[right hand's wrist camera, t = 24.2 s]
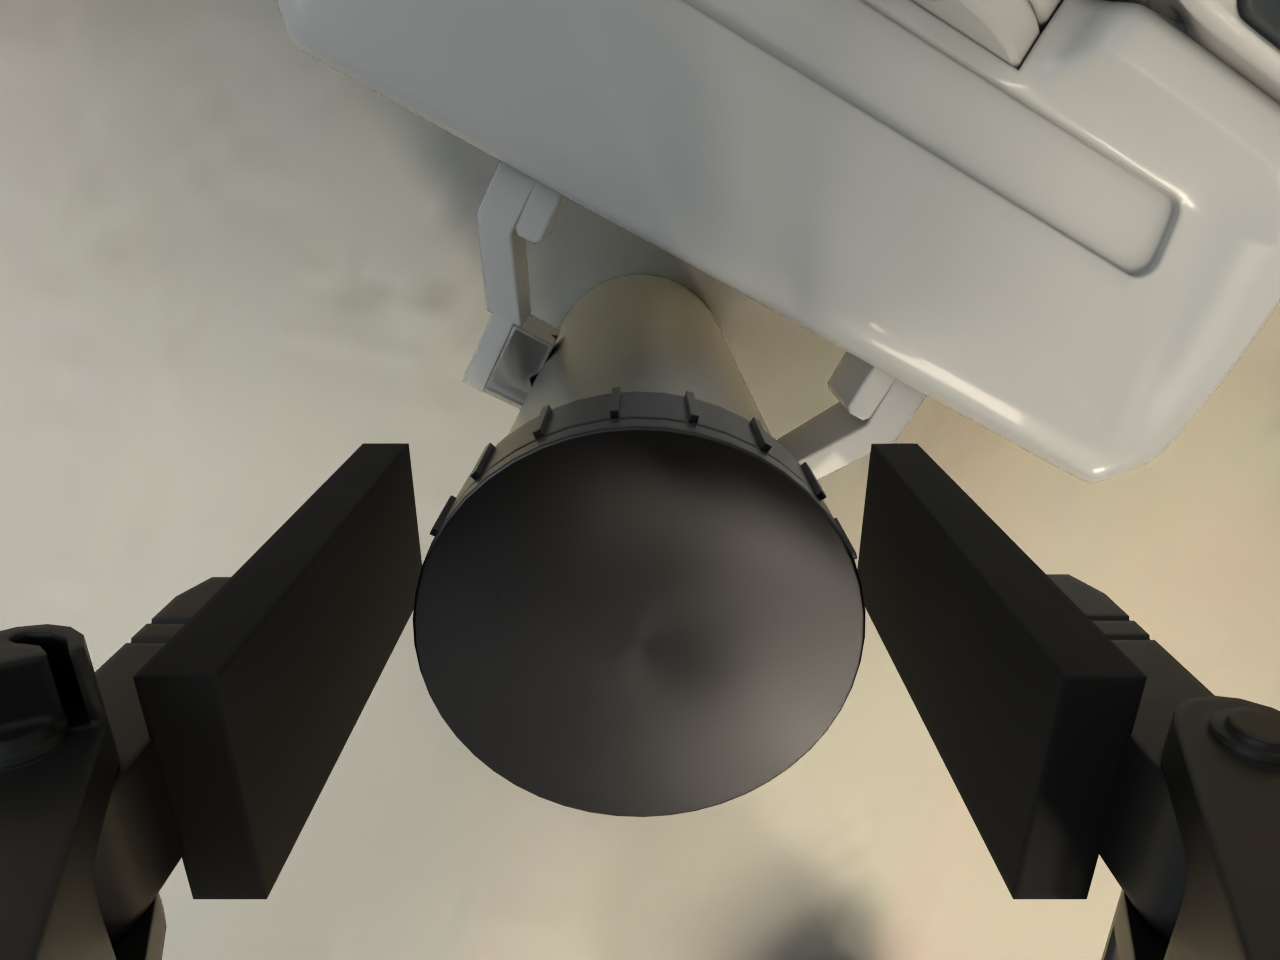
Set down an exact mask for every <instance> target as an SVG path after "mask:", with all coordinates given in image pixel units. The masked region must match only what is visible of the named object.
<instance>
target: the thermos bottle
mask: <svg viewBox="0 0 1280 960" xmlns="http://www.w3.org/2000/svg"><path fill="white" fill-rule="evenodd" d="M559 330H561V331H560V333H559V336H558V338H557V340H556V342H555V344H554V346H553V348H552V350H551V352H550V354H549V356H548V359H547V360H546V362H545V364H544V366H543V368H542V369H541V370H540V372H539V373H538V375H537V377H536V379H535V381H534V383H533V385H532V387H531V389H530V391H529V393H528V395H527V397H526V399H525V402H524V404H523V406H522V408H521V410H520V412H519V414H518V416H517V418H516V420H515V422H514V424H513V426H512V428H511V430H510V433H509V434H511V433H512V432H513V431H515V430H516V429H518V428H519V427H521V426H522V425H524V424H525V423H526V422H528V421H530V420H532V419H534V418H536V417H538V416H539V415H540V412H541V409H542V407H545V406H547V405H550V407H551V409H554V408H557V407H559V406H562V405H565V404H568V403H571V402H574V401H576V400H580V399H584V398H589V397H594V396H598V395H603V394H609V393H612V388H613V387H620V389H621V392H633V391H638V392H660V393H668V394H674V395H680V396H685V393H686V391H689V392H693V393H694V396H695V399H698V400H701V401H704V402H708V403H711V404H714V405H717V406H720V407H722V408H724V409H726V410H728V411H731V412H733V413H735V414H737V415H739V416H741V417H744V418H745V419H747V420H748V421H751V420H752V418H753V417H755V418H756V419H758V420H760V422H761V424H762V427H763V429H764V431H766V432H767V433H768V434H769V435H770V433H769V431H768V428H767V426H766V424H765V422H764V420H763V418H762V416H761V414H760V412H759V410H758V408H757V406H756V403H755V401H754V399H753V397H752V395H751V393H750V391H749V389H748V387H747V385H746V383H745V381H744V378H743V376H742V374H741V372H740V370H739V368H738V366H737V364H736V362H735V360H734V358H733V356H732V353H731V351H730V349H729V347H728V345H727V343H726V341H725V339H724V337H723V335H722V333H721V331H720V328H719V326H718V324H717V322H716V320H715V319H714V317H713V315H712V313H711V312H710V311H709V309H708V308H707V307H706V305H705V304H704V303H703V302H702V301H701V300H700V299H699V298H698V297H697V296H696V295H695V294H693V293H692V292H691V291H690V290H688V289H687V288H685V287H683V286H682V285H680V284H678V283H676V282H674V281H671V280H669V279H666V278H662V277H658V276H653V275H644V274H642V275H627V276H621V277H617V278H614V279H610V280H608V281H606V282H604V283H601V284H599V285H597V286H596V287H594V288H593V289H591V290H589V291H588V292H587V293H586V294H585V295H583V296H582V297H581V298H580V299H579V300H578V301H577V302H576V303H575V304H574V306H573V307H572V308H571V310H570V311H569V312H568V314H567V315H566V317H565V319H564V321H563V323H562V325H561V327H560V329H559Z"/></svg>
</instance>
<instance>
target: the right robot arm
mask: <svg viewBox="0 0 1280 960" xmlns="http://www.w3.org/2000/svg"><path fill="white" fill-rule="evenodd" d="M421 567H422V561H421V552H420V543H419V534H418V524H417V515H416V506H415V497H414V488H413V479H412V470H411V461H410V452H409V444H362V445H361V446H360V447H359V448H358V449H357V450H356V451H355V452H354V453H353V454H352V455H351V456H350V457H349V458H348V459H347V461H346V462H345V463H344V464H343V465H342V466H341V467H340V468H339V469H338V470H337V471H336V472H335V473H334V474H333V475H332V476H331V477H330V478H329V479H328V480H327V481H326V482H325V483H324V484H323V485H322V486H321V487H320V488H319V489H318V490H317V491H316V492H315V493H314V494H313V495H312V496H311V497H310V498H309V499H308V500H307V501H306V502H305V503H304V504H303V505H302V506H301V507H300V508H299V509H298V510H297V511H296V512H295V513H294V514H293V515H292V516H291V517H290V518H289V519H288V520H287V521H286V522H285V523H284V524H283V525H282V526H281V527H280V528H279V529H278V530H277V531H276V532H275V533H274V534H273V535H272V536H271V538H270V539H269V540H268V541H267V542H266V543H265V544H264V545H263V546H262V547H261V548H260V549H259V550H258V551H257V552H256V553H255V554H254V555H253V556H252V557H251V558H250V559H249V560H248V561H247V562H246V563H245V564H244V565H243V566H242V567H241V568H240V569H239V570H238V571H237V572H236V573H235V574H234V575H233V576H232V577H212V578H210V579H208V580H206V581H204V582H202V583H201V584H199V585H197V586H195V587H193V588H191V589H189V590H187V591H186V592H184V593H182V594H180V595H178V596H176V597H175V598H174V599H173V600H172V601H171V602H170V603H169V604H168V605H166V606H165V607H164V608H163V609H162V610H161V611H160V612H159V613H158V614H157V615H156V616H155V617H154V618H153V619H152V623H151V624H146V625H145V626H144V627H143V628H142V629H141V630H140V631H139V632H138V633H136V634H135V635H134V636H133V637H132V638H131V640H132V641H131V643H126V644H125V645H124V646H123V647H122V648H120V649H119V650H118V651H117V652H116V653H115V654H114V655H113V656H112V657H111V658H110V659H109V660H108V661H107V662H105V663H104V664H103V665H102V666H101V667H100V668H99V669H98V670H97V671H96V672H94V669H93V666H92V662H91V659H90V655H89V652H88V648H87V645H86V642H85V638H84V635H83V634H81V633H79V632H78V631H76V630H75V629H73V628H71V627H67V626H58V625H50V624H44V625H34V626H23V627H15V628H11V629H7V630H3V631H0V960H162V954H163V947H164V940H165V933H166V921H165V914H164V908H163V905H162V901H161V898H160V894H159V891H160V889H161V888H162V886H163V885H164V883H165V882H166V880H167V878H168V877H169V875H170V874H171V872H172V871H173V869H174V868H175V866H176V865H177V863H178V862H179V860H180V859H181V857H182V859H183V863H184V866H185V870H186V874H187V877H188V881H189V885H190V888H191V892H192V896H193V899H267V897H268V895H269V894H270V892H271V890H272V888H273V886H274V884H275V882H276V880H277V878H278V876H279V874H280V872H281V870H282V868H283V866H284V864H285V862H286V860H287V858H288V856H289V854H290V852H291V850H292V848H293V846H294V844H295V842H296V840H297V838H298V836H299V834H300V832H301V830H302V828H303V826H304V825H305V823H306V821H307V819H308V817H309V815H310V813H311V811H312V809H313V807H314V805H315V803H316V801H317V799H318V797H319V795H320V793H321V791H322V789H323V787H324V785H325V783H326V781H327V779H328V777H329V775H330V773H331V771H332V769H333V767H334V765H335V763H336V761H337V759H338V757H339V756H340V754H341V752H342V750H343V748H344V746H345V744H346V742H347V740H348V738H349V736H350V734H351V732H352V730H353V728H354V726H355V724H356V722H357V720H358V718H359V716H360V714H361V712H362V710H363V708H364V706H365V704H366V702H367V700H368V698H369V696H370V694H371V692H372V690H373V688H374V687H375V685H376V683H377V681H378V679H379V677H380V675H381V673H382V671H383V669H384V667H385V665H386V663H387V661H388V659H389V657H390V655H391V653H392V651H393V649H394V647H395V645H396V643H397V641H398V639H399V637H400V635H401V633H402V631H403V629H404V627H405V625H406V623H407V621H408V620H409V618H410V616H411V614H412V612H413V610H414V600H415V592H416V588H417V583H418V579H419V575H420V571H421ZM857 571H858V574H859V578H860V581H861V584H862V591H863V598H864V606H865V608H866V610H867V612H868V614H869V616H870V618H871V620H872V621H873V623H874V625H875V627H876V629H877V631H878V633H879V635H880V637H881V639H882V641H883V643H884V645H885V647H886V649H887V651H888V653H889V655H890V657H891V659H892V661H893V663H894V665H895V667H896V669H897V671H898V673H899V675H900V677H901V679H902V681H903V683H904V685H905V687H906V688H907V690H908V692H909V694H910V696H911V698H912V700H913V702H914V704H915V706H916V708H917V710H918V712H919V714H920V716H921V718H922V720H923V722H924V724H925V726H926V728H927V730H928V732H929V734H930V736H931V738H932V740H933V742H934V744H935V746H936V748H937V750H938V752H939V754H940V756H941V757H942V759H943V761H944V763H945V765H946V767H947V769H948V771H949V773H950V775H951V777H952V779H953V781H954V783H955V785H956V787H957V789H958V791H959V793H960V795H961V797H962V799H963V801H964V803H965V805H966V807H967V809H968V811H969V813H970V815H971V817H972V819H973V821H974V823H975V825H976V826H977V828H978V830H979V832H980V834H981V836H982V838H983V840H984V842H985V844H986V846H987V848H988V850H989V852H990V854H991V856H992V858H993V860H994V862H995V864H996V866H997V868H998V870H999V872H1000V874H1001V876H1002V878H1003V880H1004V882H1005V884H1006V886H1007V888H1008V890H1009V892H1010V894H1011V895H1012V897H1013V899H1087V896H1088V892H1089V889H1090V885H1091V881H1092V878H1093V874H1094V870H1095V867H1096V863H1097V859H1098V856H1099V854H1100V856H1101V857H1102V859H1103V860H1104V862H1105V863H1106V865H1107V866H1108V868H1109V869H1110V871H1111V873H1112V874H1113V876H1114V877H1115V879H1116V880H1117V882H1118V883H1119V885H1120V886H1121V888H1122V891H1121V894H1120V898H1119V901H1118V905H1117V908H1116V912H1115V915H1114V918H1113V922H1112V925H1111V929H1110V932H1109V935H1108V939H1107V942H1106V946H1105V949H1104V953H1103V956H1102V959H1101V960H1280V711H1278V710H1276V709H1273V708H1271V707H1267V706H1264V705H1260V704H1257V703H1253V702H1250V701H1246V700H1243V699H1238V698H1229V697H1220V696H1214V695H1213V694H1212V693H1211V692H1210V691H1209V690H1208V689H1207V688H1206V687H1205V686H1204V685H1203V684H1202V683H1200V682H1199V681H1198V680H1197V679H1196V678H1195V677H1194V676H1193V675H1192V674H1191V673H1190V672H1189V671H1188V670H1186V669H1185V668H1184V667H1183V666H1182V665H1181V664H1180V663H1179V662H1178V661H1177V660H1176V659H1175V658H1173V657H1172V656H1171V655H1170V654H1169V653H1168V652H1167V651H1166V650H1165V649H1164V648H1163V647H1162V646H1161V645H1159V644H1158V643H1157V642H1156V641H1155V640H1150V638H1149V634H1148V633H1147V632H1145V631H1144V630H1143V629H1142V628H1141V627H1140V626H1139V625H1138V624H1137V623H1136V622H1135V621H1129V616H1128V615H1127V614H1126V613H1125V612H1124V611H1123V610H1122V609H1121V608H1120V607H1118V606H1117V605H1116V604H1115V603H1114V602H1113V601H1112V600H1111V599H1110V598H1109V597H1108V596H1107V595H1105V594H1104V593H1102V592H1100V591H1099V590H1097V589H1095V588H1093V587H1091V586H1089V585H1087V584H1085V583H1083V582H1082V581H1080V580H1078V579H1076V578H1074V577H1072V576H1070V575H1046V574H1045V573H1044V572H1043V571H1042V570H1041V569H1040V568H1039V567H1038V566H1037V565H1036V564H1035V563H1034V562H1033V561H1032V560H1031V559H1030V558H1029V557H1028V556H1027V555H1026V554H1025V553H1024V552H1023V551H1022V550H1021V549H1020V548H1019V547H1018V546H1017V545H1016V544H1015V543H1014V542H1013V541H1012V540H1011V539H1010V538H1009V536H1008V535H1007V534H1006V533H1005V532H1004V531H1003V530H1002V529H1001V528H1000V527H999V526H998V525H997V524H996V523H995V522H994V521H993V520H992V519H991V518H990V517H989V516H988V515H987V514H986V513H985V512H984V511H983V510H982V509H981V508H980V507H979V506H978V505H977V504H976V503H975V502H974V501H973V500H972V499H971V498H970V497H969V496H968V495H967V494H966V493H965V492H964V491H963V490H962V489H961V488H960V487H959V486H958V485H957V484H956V483H955V482H954V481H953V480H952V479H951V478H950V477H949V476H948V475H947V474H946V473H945V472H944V471H943V470H942V469H941V468H940V467H939V466H938V465H937V464H936V463H935V462H934V461H933V459H932V458H931V457H930V456H929V455H928V454H927V453H926V452H925V451H924V450H923V449H922V448H921V447H920V446H919V445H918V444H871V452H870V461H869V470H868V479H867V488H866V497H865V506H864V515H863V524H862V534H861V543H860V552H859V561H858V570H857Z"/></svg>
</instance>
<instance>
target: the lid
mask: <svg viewBox="0 0 1280 960" xmlns="http://www.w3.org/2000/svg"><path fill="white" fill-rule="evenodd" d="M824 498H826V495H825V493H824V491H823V489H822V488H821V486H820V484H819V482H818V480H817V479H816V477H815V475H814V473H813V472H812V470H811V468H810V466H809V465H808V464H807V462H804V463H803V464H801V465H800V464H799V462H798V461H797V460H796V459H795V458H794V457H793V456H792V455H791V454H790V452H789V451H788V450H787V449H786V448H785V447H784V446H782V445H781V444H780V443H779V442H778V441H776V440H775V439H774V438H773V437H772V436H771V435H769V434H768V433H767V432H766V431H764V429H763V427H762V424H761V422H760V420H758V419H756V418H755V417H753V418H752V420H751V421H748V420H747V419H745V418H744V417H741V416H739V415H737V414H735V413H733V412H731V411H728V410H726V409H724V408H722V407H720V406H717V405H714V404H711V403H708V402H704V401H701V400H698V399H695V396H694V393H693V392H689V391H686V393H685V396H680V395H674V394H668V393H660V392H638V391H633V392H621V389H620V387H613V388H612V393H609V394H603V395H598V396H594V397H589V398H584V399H580V400H576V401H574V402H571V403H568V404H565V405H562V406H559V407H557V408H554V409H551V407H550V405H547V406H545V407H542V409H541V412H540V415H539V416H538V417H536V418H534V419H532V420H530V421H528V422H526V423H525V424H524V425H522V426H521V427H519V428H518V429H516V430H515V431H513V432H512V433H511V434H509V435H508V436H506V437H505V438H504V439H503V440H502V441H501V442H500V443H499V444H497V445H496V446H495V447H494V446H493V445H492V444H491V443H489V444H488V445H487V446H486V447H485V449H484V451H483V453H482V455H481V457H480V458H479V460H478V462H477V464H476V466H475V468H474V469H473V471H472V473H471V474H470V476H469V477H468V479H467V481H466V482H465V484H464V486H463V487H462V489H461V491H460V492H459V494H458V496H457V497H453V496H450V498H449V500H448V502H447V503H446V505H445V507H444V509H443V510H442V512H441V514H440V516H439V517H438V519H437V521H436V523H435V524H434V526H433V528H432V530H431V532H430V535H433V536H435V538H434V539H433V541H432V543H431V546H430V548H429V550H428V553H427V555H426V558H425V560H424V563H423V565H422V567H421V571H420V575H419V579H418V583H417V588H416V592H415V600H414V612H413V629H414V644H415V649H416V653H417V658H418V663H419V667H420V671H421V674H422V676H423V679H424V682H425V684H426V687H427V689H428V692H429V695H430V696H431V698H432V700H433V702H434V704H435V706H436V707H437V709H438V711H439V713H440V715H441V716H442V718H443V719H444V720H445V722H446V723H447V725H448V726H449V727H450V729H451V730H452V731H453V733H454V734H455V735H456V737H457V738H458V739H459V740H460V741H461V742H462V743H463V744H464V745H465V746H466V747H467V748H468V749H469V750H470V751H471V752H472V753H473V754H474V755H475V756H476V757H477V758H478V759H480V760H481V761H482V762H483V763H484V764H486V765H487V766H488V767H489V768H491V769H492V770H493V771H494V772H496V773H497V774H499V775H501V776H502V777H504V778H505V779H507V780H508V781H510V782H511V783H513V784H515V785H516V786H518V787H520V788H522V789H524V790H526V791H528V792H531V793H533V794H535V795H537V796H539V797H541V798H544V799H547V800H549V801H552V802H555V803H558V804H561V805H563V806H567V807H571V808H575V809H579V810H583V811H587V812H592V813H599V814H606V815H614V816H633V817H649V816H664V815H673V814H679V813H685V812H691V811H697V810H700V809H704V808H707V807H711V806H714V805H718V804H722V803H724V802H727V801H729V800H732V799H734V798H737V797H739V796H742V795H744V794H747V793H748V792H750V791H752V790H754V789H756V788H758V787H760V786H762V785H764V784H765V783H767V782H769V781H771V780H772V779H774V778H775V777H776V776H778V775H779V774H781V773H782V772H784V771H785V770H787V769H788V768H790V767H791V766H792V765H793V764H794V763H795V762H797V761H798V760H799V759H800V758H801V757H802V756H803V755H805V754H806V753H807V752H808V751H809V750H810V749H811V748H812V747H813V746H814V745H815V743H816V742H817V741H818V740H819V739H820V738H821V737H822V736H823V734H824V733H825V732H826V731H827V730H828V728H829V727H830V725H831V724H832V722H833V721H834V719H835V718H836V716H837V715H838V713H839V712H840V711H841V709H842V707H843V705H844V703H845V701H846V699H847V697H848V695H849V693H850V691H851V689H852V686H853V683H854V680H855V677H856V674H857V671H858V668H859V665H860V662H861V656H862V650H863V644H864V638H865V606H864V598H863V591H862V584H861V581H860V578H859V574H858V571H857V568H856V564H855V561H854V559H857V555H856V552H855V550H854V548H853V547H852V545H851V543H850V541H849V539H848V538H847V536H846V534H845V532H844V530H843V529H842V527H841V525H840V523H839V521H838V519H837V518H833V517H832V515H831V513H830V511H829V509H828V507H827V506H826V504H825V502H824V500H823V499H824Z"/></svg>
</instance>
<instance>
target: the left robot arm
mask: <svg viewBox="0 0 1280 960" xmlns="http://www.w3.org/2000/svg"><path fill="white" fill-rule="evenodd" d="M278 4H279V7H280V11H281V14H282V17H283V21H284V24H285V27H286V29H287V32H288V35H289V38H290V39H291V41H292V42H293V43H294V45H295V46H296V47H297V48H299V49H300V50H301V51H303V52H305V53H307V54H308V55H310V56H312V57H314V58H315V59H317V60H319V61H321V62H323V63H324V64H326V65H328V66H330V67H332V68H333V69H335V70H337V71H339V72H341V73H342V74H344V75H346V76H348V77H350V78H352V79H353V80H355V81H357V82H359V83H361V84H362V85H364V86H366V87H368V88H370V89H372V90H373V91H375V92H377V93H379V94H381V95H382V96H384V97H386V98H388V99H390V100H391V101H393V102H395V103H397V104H399V105H401V106H402V107H404V108H406V109H408V110H410V111H411V112H413V113H415V114H417V115H419V116H421V117H422V118H424V119H426V120H428V121H430V122H431V123H433V124H435V125H437V126H439V127H440V128H442V129H444V130H446V131H448V132H450V133H451V134H453V135H455V136H457V137H459V138H460V139H462V140H464V141H466V142H468V143H469V144H471V145H473V146H475V147H477V148H479V149H480V150H482V151H484V152H486V153H488V154H489V155H491V156H493V157H495V158H497V159H499V160H500V161H499V163H498V166H497V168H496V170H495V173H494V175H493V177H492V179H491V182H490V184H489V186H488V189H487V191H486V193H485V196H484V198H483V200H482V203H481V205H480V207H479V209H478V212H477V214H476V215H477V224H478V233H479V242H480V250H481V259H482V268H483V277H484V286H485V294H486V303H487V310H488V311H489V312H491V313H493V314H492V316H491V318H490V320H489V322H488V325H487V327H486V329H485V331H484V333H483V336H482V338H481V340H480V342H479V344H478V346H477V349H476V351H475V353H474V355H473V357H472V359H471V362H470V364H469V366H468V368H467V370H466V373H465V376H464V379H463V382H465V383H467V384H469V385H470V386H472V387H474V388H476V389H477V390H479V391H481V392H485V393H487V394H489V395H491V396H493V397H495V398H498V399H500V400H502V401H504V402H506V403H508V404H510V405H512V406H514V407H516V408H518V409H521V408H522V406H523V404H524V402H525V399H526V397H527V395H528V393H529V391H530V389H531V387H532V385H533V383H534V381H535V379H536V377H537V375H538V373H539V372H540V370H541V369H542V368H543V366H544V364H545V362H546V360H547V359H548V356H549V354H550V352H551V350H552V348H553V346H554V344H555V342H556V340H557V338H558V336H559V333H560V331H561V330H559V329H557V328H555V327H554V326H552V325H550V324H548V323H546V322H544V321H543V320H541V319H539V318H537V317H535V316H534V315H532V314H530V313H531V306H530V292H529V277H528V263H527V249H526V240H527V241H529V242H531V243H533V244H535V243H538V242H540V241H542V240H543V239H544V238H546V237H547V236H548V235H550V234H551V233H552V231H553V229H554V226H555V224H556V222H557V220H558V218H559V216H560V214H561V212H562V210H563V208H564V206H565V204H566V202H567V200H568V198H569V199H571V200H573V201H575V202H577V203H578V204H580V205H582V206H584V207H586V208H587V209H589V210H591V211H593V212H595V213H596V214H598V215H600V216H602V217H604V218H606V219H607V220H609V221H611V222H613V223H615V224H616V225H618V226H620V227H622V228H624V229H625V230H627V231H629V232H631V233H633V234H635V235H636V236H638V237H640V238H642V239H644V240H645V241H647V242H649V243H651V244H653V245H655V246H656V247H658V248H660V249H662V250H664V251H665V252H667V253H669V254H671V255H673V256H674V257H676V258H678V259H680V260H682V261H684V262H685V263H687V264H689V265H691V266H693V267H694V268H696V269H698V270H700V271H702V272H703V273H705V274H707V275H709V276H711V277H713V278H714V279H716V280H718V281H720V282H722V283H723V284H725V285H727V286H729V287H731V288H733V289H734V290H736V291H738V292H740V293H742V294H743V295H745V296H747V297H749V298H751V299H752V300H754V301H756V302H758V303H760V304H762V305H763V306H765V307H767V308H769V309H771V310H772V311H774V312H776V313H778V314H780V315H782V316H783V317H785V318H787V319H789V320H791V321H792V322H794V323H796V324H798V325H800V326H801V327H803V328H805V329H807V330H809V331H811V332H812V333H814V334H816V335H818V336H820V337H821V338H823V339H825V340H827V341H829V342H830V343H832V344H834V345H836V346H838V347H840V348H841V349H843V350H845V351H847V352H846V353H845V355H844V357H843V358H842V360H841V362H840V363H839V365H838V366H837V368H836V370H835V371H834V373H833V375H832V376H831V378H830V380H829V381H828V387H829V389H830V391H831V392H832V393H833V394H834V395H835V396H836V398H837V399H838V400H839V401H840V402H839V403H837V404H835V405H834V406H832V407H830V408H829V409H827V410H826V411H824V412H822V413H821V414H819V415H817V416H816V417H814V418H812V419H811V420H809V421H807V422H806V423H804V424H802V425H801V426H799V427H798V428H796V429H794V430H793V431H791V432H789V433H788V434H786V435H784V436H783V437H781V438H779V439H778V440H777V441H778V442H779V443H780V444H781V445H782V446H784V447H785V448H786V449H787V450H788V451H789V452H790V454H791V455H792V456H793V457H794V458H795V459H796V460H797V461H798V462H799V464H800V465H801V464H803V463H804V462H807V464H808V465H809V466H810V468H811V470H812V472H813V473H814V475H815V477H816V479H817V480H819V479H821V478H823V477H825V476H827V475H829V474H831V473H833V472H835V471H837V470H839V469H841V468H843V467H844V466H846V465H848V464H850V463H852V462H854V461H856V460H858V459H860V458H862V457H864V456H866V455H868V454H870V452H871V444H889V443H891V442H893V441H895V440H896V439H897V438H898V436H899V435H900V433H901V432H902V430H903V429H904V427H905V426H906V425H907V423H908V422H909V420H910V419H911V417H912V416H913V414H914V413H915V411H916V410H917V409H918V407H919V406H920V404H921V403H922V401H923V400H924V398H925V397H926V395H927V396H928V397H930V398H932V399H934V400H936V401H938V402H939V403H941V404H943V405H945V406H947V407H948V408H950V409H952V410H954V411H956V412H957V413H959V414H961V415H963V416H965V417H967V418H968V419H970V420H972V421H974V422H976V423H977V424H979V425H981V426H983V427H985V428H986V429H988V430H990V431H992V432H994V433H996V434H997V435H999V436H1001V437H1003V438H1005V439H1006V440H1008V441H1010V442H1012V443H1014V444H1016V445H1017V446H1019V447H1021V448H1023V449H1025V450H1026V451H1028V452H1030V453H1032V454H1034V455H1035V456H1037V457H1039V458H1041V459H1043V460H1045V461H1046V462H1048V463H1050V464H1052V465H1054V466H1055V467H1057V468H1059V469H1061V470H1063V471H1065V472H1066V473H1068V474H1070V475H1072V476H1074V477H1076V478H1077V479H1079V480H1081V481H1083V482H1088V483H1096V482H1099V481H1103V480H1106V479H1109V478H1112V477H1114V476H1117V475H1120V474H1122V473H1125V472H1128V471H1130V470H1132V469H1135V468H1137V467H1140V466H1142V465H1145V464H1147V463H1148V462H1150V461H1152V460H1153V459H1155V458H1156V457H1157V456H1158V455H1159V454H1161V453H1162V452H1163V451H1164V450H1165V449H1166V448H1167V447H1168V446H1169V445H1170V444H1171V443H1172V441H1173V440H1174V439H1175V438H1176V437H1177V436H1178V435H1179V434H1180V433H1181V432H1182V430H1183V429H1184V428H1185V427H1186V426H1187V425H1188V423H1189V422H1190V421H1191V420H1192V418H1193V417H1194V416H1195V415H1196V414H1197V412H1198V411H1199V410H1200V409H1201V407H1202V406H1203V405H1204V404H1205V402H1206V401H1207V400H1208V399H1209V398H1210V396H1211V395H1212V394H1213V392H1214V391H1215V390H1216V389H1217V387H1218V386H1219V385H1220V383H1221V382H1222V381H1223V379H1224V378H1225V377H1226V376H1227V374H1228V373H1229V372H1230V370H1231V369H1232V368H1233V366H1234V365H1235V364H1236V362H1237V361H1238V360H1239V358H1240V357H1241V356H1242V354H1243V353H1244V352H1245V350H1246V349H1247V347H1248V346H1249V345H1250V343H1251V342H1252V341H1253V339H1254V338H1255V336H1256V335H1257V334H1258V332H1259V331H1260V330H1261V328H1262V327H1263V325H1264V324H1265V323H1266V321H1267V320H1268V318H1269V317H1270V315H1271V314H1272V312H1273V311H1274V309H1275V308H1276V306H1277V305H1278V304H1279V302H1280V0H278Z"/></svg>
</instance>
